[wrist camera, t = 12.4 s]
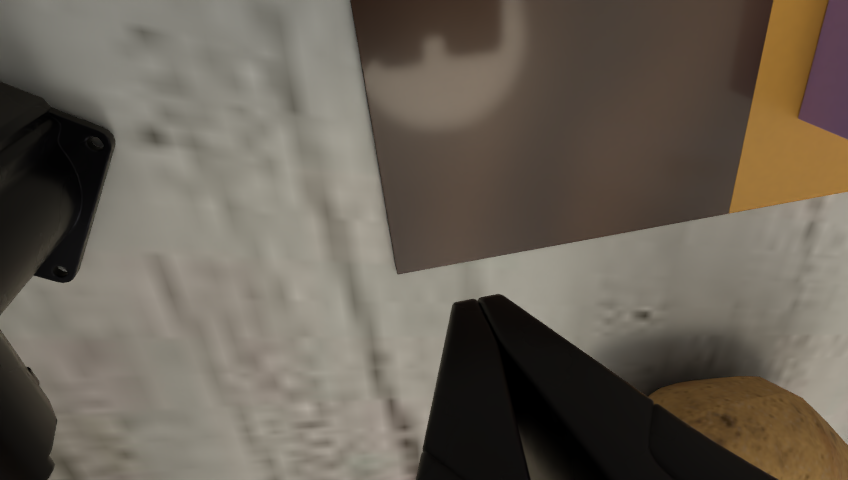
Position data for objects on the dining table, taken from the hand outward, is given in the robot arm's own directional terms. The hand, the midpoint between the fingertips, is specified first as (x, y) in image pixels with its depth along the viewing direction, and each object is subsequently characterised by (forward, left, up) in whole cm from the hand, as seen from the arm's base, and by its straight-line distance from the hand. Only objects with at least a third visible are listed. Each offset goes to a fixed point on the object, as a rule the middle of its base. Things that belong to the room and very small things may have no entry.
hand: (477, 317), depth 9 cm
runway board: (+4, -5, -12) cm, 14 cm away
